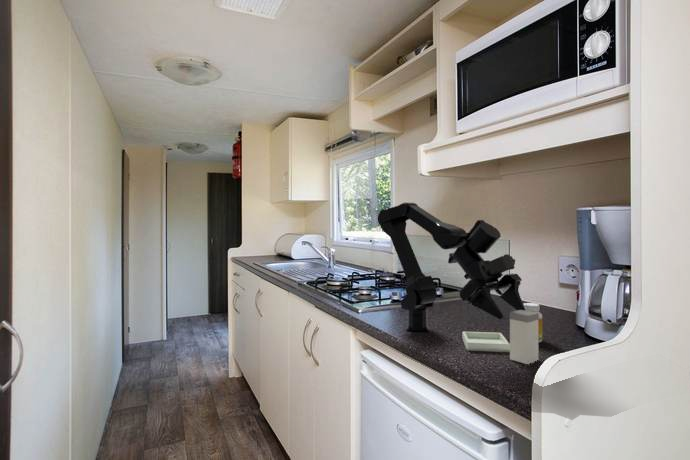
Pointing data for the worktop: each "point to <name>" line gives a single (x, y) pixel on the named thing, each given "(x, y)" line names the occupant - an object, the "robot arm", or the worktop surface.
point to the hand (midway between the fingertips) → (513, 315)
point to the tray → (485, 342)
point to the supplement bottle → (535, 308)
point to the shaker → (524, 336)
